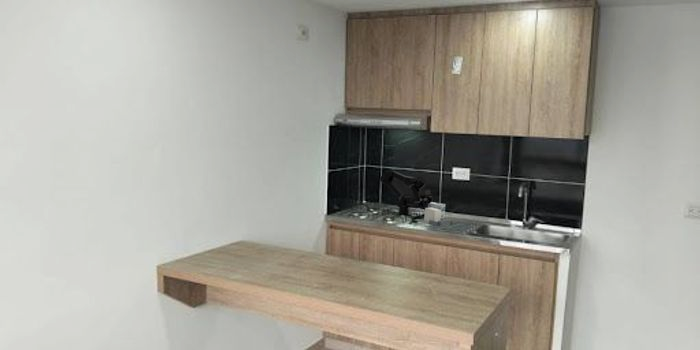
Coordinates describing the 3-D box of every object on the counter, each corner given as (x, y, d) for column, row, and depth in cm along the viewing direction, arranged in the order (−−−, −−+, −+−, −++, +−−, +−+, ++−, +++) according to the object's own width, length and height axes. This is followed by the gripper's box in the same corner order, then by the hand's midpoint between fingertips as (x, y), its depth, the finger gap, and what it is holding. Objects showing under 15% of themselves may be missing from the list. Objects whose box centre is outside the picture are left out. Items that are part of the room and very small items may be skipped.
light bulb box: (444, 218, 388) (445, 204, 387) (440, 220, 382) (441, 205, 381) (430, 216, 394) (432, 201, 392) (426, 217, 388) (428, 202, 387)
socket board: (414, 221, 371) (414, 214, 371) (427, 219, 380) (428, 213, 380) (438, 228, 355) (439, 221, 354) (452, 226, 364) (452, 219, 363)
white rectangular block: (424, 220, 370) (425, 208, 369) (430, 220, 374) (431, 207, 372) (434, 223, 363) (435, 210, 362) (439, 222, 367) (441, 209, 366)
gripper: (414, 186, 367) (425, 204, 360) (432, 185, 379) (443, 203, 372) (405, 195, 374) (415, 214, 367) (423, 194, 386) (434, 212, 379)
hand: (427, 210), depth 371 cm, fingers closed
